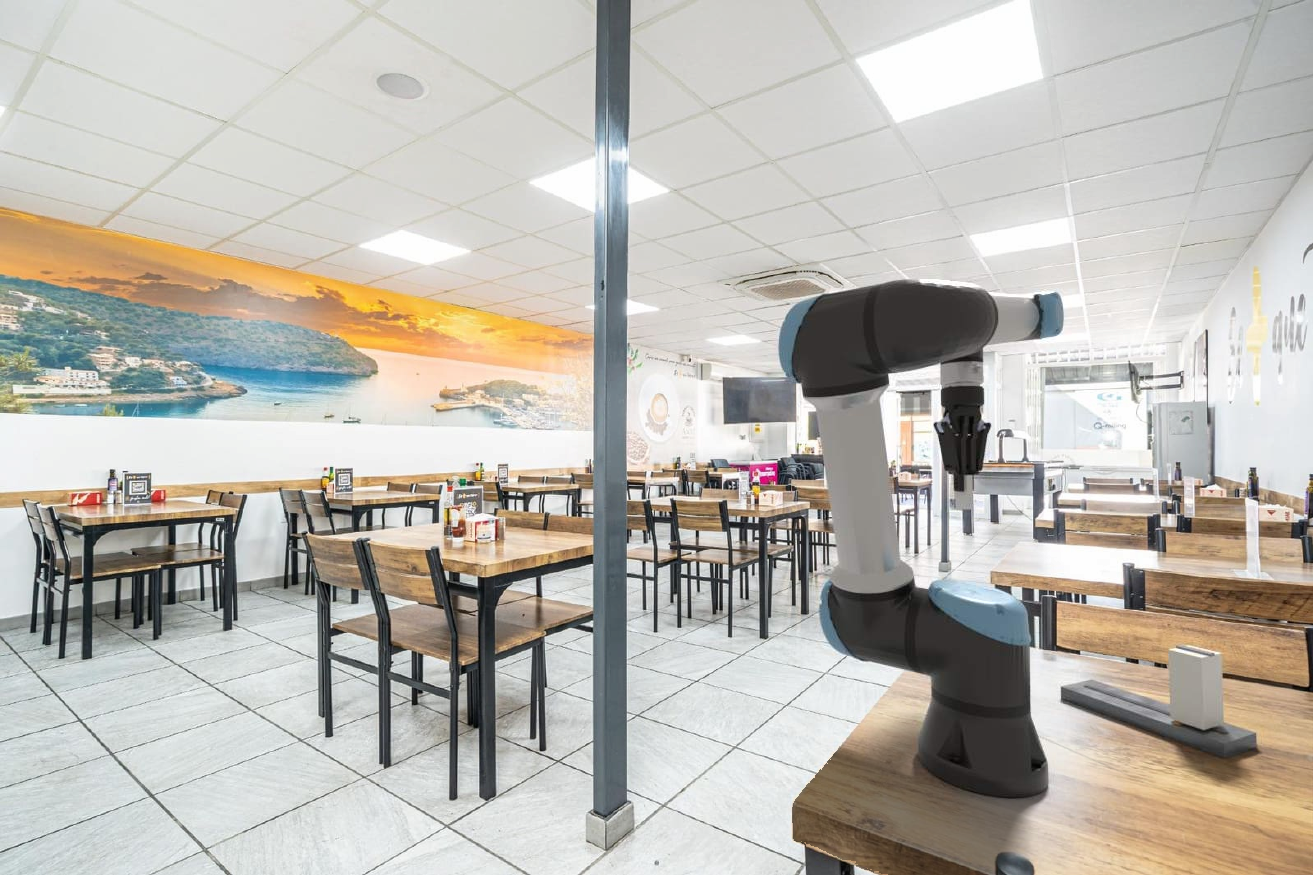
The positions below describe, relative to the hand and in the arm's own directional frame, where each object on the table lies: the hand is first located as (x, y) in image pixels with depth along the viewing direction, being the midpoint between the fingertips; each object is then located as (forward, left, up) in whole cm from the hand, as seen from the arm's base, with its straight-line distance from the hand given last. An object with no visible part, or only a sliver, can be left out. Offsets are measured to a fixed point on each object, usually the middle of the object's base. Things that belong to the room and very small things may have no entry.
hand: (964, 508), depth 118 cm
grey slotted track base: (+19, -21, -30) cm, 42 cm away
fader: (+22, -26, -28) cm, 44 cm away
